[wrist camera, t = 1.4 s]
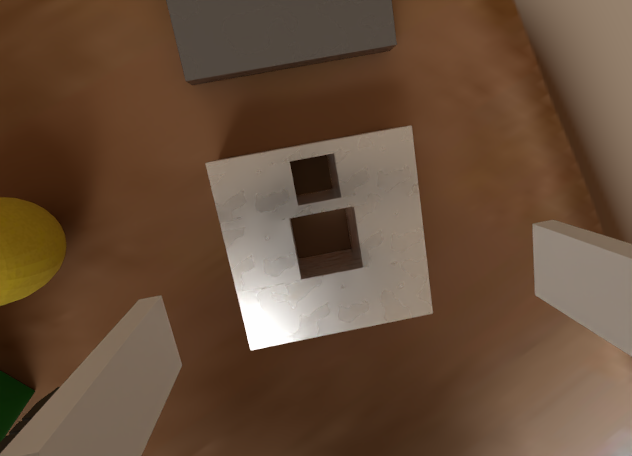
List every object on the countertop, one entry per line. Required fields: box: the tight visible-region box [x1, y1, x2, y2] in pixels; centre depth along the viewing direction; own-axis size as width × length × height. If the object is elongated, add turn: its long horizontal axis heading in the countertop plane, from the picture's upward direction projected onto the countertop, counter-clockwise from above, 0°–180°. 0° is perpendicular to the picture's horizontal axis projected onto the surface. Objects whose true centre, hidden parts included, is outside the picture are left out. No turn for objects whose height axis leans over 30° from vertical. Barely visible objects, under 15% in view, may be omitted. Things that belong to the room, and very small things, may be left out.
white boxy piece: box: [205, 125, 433, 350], centre depth 23 cm, size 11×11×4 cm
